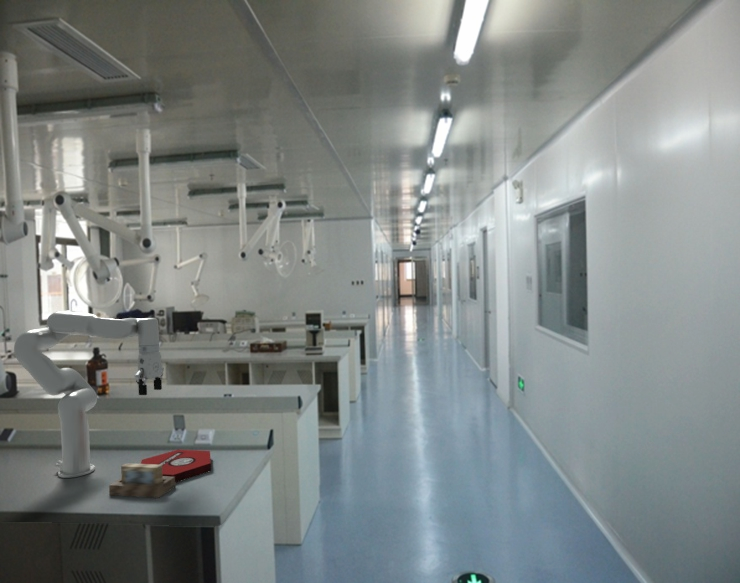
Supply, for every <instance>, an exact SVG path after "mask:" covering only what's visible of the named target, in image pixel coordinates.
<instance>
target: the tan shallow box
mask: <svg viewBox="0 0 740 583" xmlns="http://www.w3.org/2000/svg"><path fill="white" fill-rule="evenodd" d="M173 487H174V488H175V487H176V483H175V477H170V476H163V482H162V483H161V484H142V483H123V482H122V477H121V478H120V479H119V478H118V479H117V480H115V481H114V482H112V483H111V484H109V485H108V488H109V490H108V491H109V492H108V493H109V496H117V495H122V496H121V497H134V496H142V497H141V498H150V497H153V499H154V497H155V499H156V498H157V499H160V498H161V497H163V496H164V495H166V494H167V493H168V492H170V491H171V490H172V489H174V488H173ZM170 489H171V490H170ZM166 492H167V493H166ZM163 494H164V495H163ZM159 497H160V498H159Z"/></svg>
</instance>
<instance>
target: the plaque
mask: <svg viewBox="0 0 740 583" xmlns="http://www.w3.org/2000/svg"><path fill="white" fill-rule="evenodd" d="M211 462H212V461H211V451H210V450H197V449H196V450H193V449H192V450H191V449H175V450H172V451H168V452H164V453H161V454H158V455H154V456H150V457H147V458H146V457H145V458H143V459H141V461H140V464H155V465H162V476H170V477H175V482H176V483H179V482H181V480H182V481H185V480H188V479H191V478H193V477H197V476H201V475H204V474H206V472H207V473H209V472H208V471H210V472H211V471H212V463H211ZM203 473H204V474H203ZM200 474H201V475H200ZM184 479H185V480H184ZM178 481H179V482H178Z"/></svg>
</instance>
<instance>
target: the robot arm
mask: <svg viewBox="0 0 740 583" xmlns="http://www.w3.org/2000/svg"><path fill="white" fill-rule="evenodd" d="M159 330H160V329H159V319H157V318H156V317H145V318H136V317H128V318H122V319H119V318H116V319H115V318H105V317H99V316H97V315H96V314H94V313H84V312H83V313H82V312H76V311H75V310H60V311H56V312H52V313H51V314H50V315H49V316H48V318H47V319H46V326H44V327H41V328H35V329H29V330H26V331H24V332H22V333H21V334H20V335H19V336H18V337H17V338H16V340H15V342H14V347H13V353H14V357H15V358H16V360H17V362H19V364H20V365H21V366H22V367H23V368H24V369H25V370H26V371H27V372H28V373H29V374H30V375H31V377H32V379H34V380H35V382H36V383H37V384H38V385H39V386H40V387H41V388H42V389H43V390H44V391H45V393H47V394H48V395H50V396H54V397H56V396H59V395H62V394H64V395H63V396H62V397H61V398H60V400H59V402H58V404H57V413H58V417H59V423H60V438H61V442H60V443H61V460H60V459H59V460H57V461H56V463H55V464H54V467H55V468H59V470H58V472H57V475H58V477H59V478H63V479H69V478H70V479H71V478H77V477H82V476H85V475H89V474H91V473H92V472H93V471H95V469H96V466H95V465H94V464H92V463H91V451H90V449H91V448H90V446H91V444H90V425H89V420H88V416H87V412H88V411H90V410H91V409H93V408H94V407H95V406H96V404H97V402H98V395H97V393H96V391H95V389H94V388H93V387H92V386H91V385H90V383H89V382H87V380H86V379H85V378H84V377H83V376H82V375H81V374H80V372H78V371H77V370H76V369H73V368H72V367H62V368H59V367H58V366H57V364H55V363H54V362H53V360H52V359H51V358H50V357H49V356H47V355H45V353H43V352H42V351H43V350H47V349H51V348H53V347H55V346H56V345H58V344H59V343H61V342H62V341H64V340H65V339H66V338H67V337H69V336H70V335H77V336H78V335H79V336H90V337H96V338H101V339H102V338H104V339H114V340H115V339H116V340H124V339H129V338H133V337H137V336H138V339H137V340H138V343H137V344H138V358H137V372H136V373H135V374H134V378H135V382H136V383H137V384H136V385H137V386H138V396H147V395H148V386H147V382H148V380H152V379H153V390H156V391H161V390H163V389H162V388H163V387H162V380H163V376H164V371H165V367H163V359H162V354H161V351H160V340H159V339H160V332H159Z"/></svg>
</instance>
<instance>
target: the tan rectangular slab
mask: <svg viewBox="0 0 740 583" xmlns="http://www.w3.org/2000/svg"><path fill="white" fill-rule="evenodd" d="M120 467H121V478H122V482H123V483H142V484H161V483H162V482H163V476H162V465H155V464H141V463H133V462H132V463H131V462H130V463H129V462H128V463H124V464H123V465H121V466H120Z"/></svg>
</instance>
